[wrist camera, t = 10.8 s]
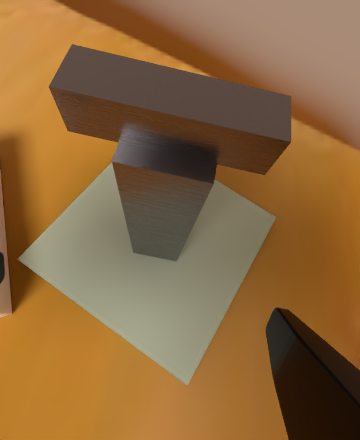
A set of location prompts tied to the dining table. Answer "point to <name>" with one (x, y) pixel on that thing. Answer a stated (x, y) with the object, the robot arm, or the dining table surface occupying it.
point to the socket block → (3, 306)
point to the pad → (152, 270)
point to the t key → (168, 136)
